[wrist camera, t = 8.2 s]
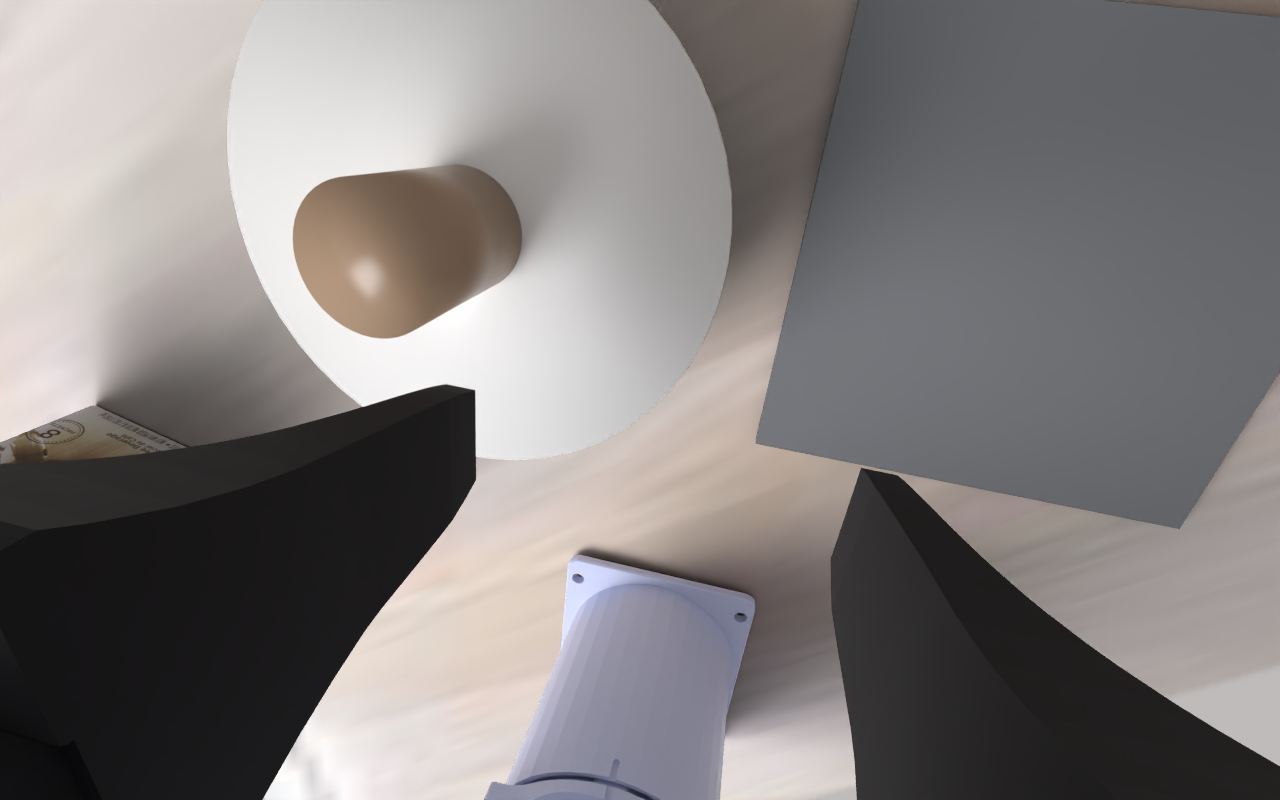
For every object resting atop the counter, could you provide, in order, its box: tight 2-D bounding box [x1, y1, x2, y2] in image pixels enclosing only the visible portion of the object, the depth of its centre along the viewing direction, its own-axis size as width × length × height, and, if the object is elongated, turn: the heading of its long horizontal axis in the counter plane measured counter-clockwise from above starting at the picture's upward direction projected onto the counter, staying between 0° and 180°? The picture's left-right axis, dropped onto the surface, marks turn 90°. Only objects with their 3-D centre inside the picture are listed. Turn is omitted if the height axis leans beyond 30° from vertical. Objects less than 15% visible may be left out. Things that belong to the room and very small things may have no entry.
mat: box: [756, 0, 1280, 529], centre depth 18 cm, size 14×14×1 cm
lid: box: [227, 0, 732, 460], centre depth 13 cm, size 13×13×5 cm
